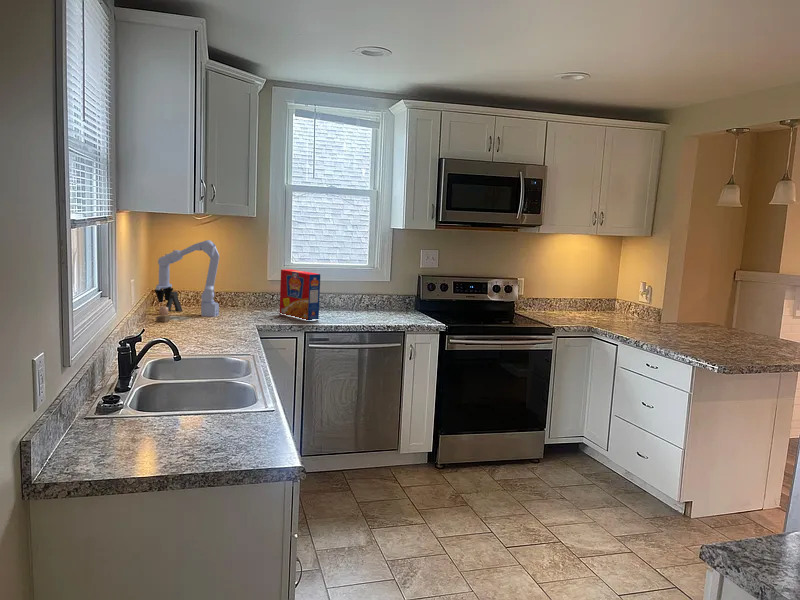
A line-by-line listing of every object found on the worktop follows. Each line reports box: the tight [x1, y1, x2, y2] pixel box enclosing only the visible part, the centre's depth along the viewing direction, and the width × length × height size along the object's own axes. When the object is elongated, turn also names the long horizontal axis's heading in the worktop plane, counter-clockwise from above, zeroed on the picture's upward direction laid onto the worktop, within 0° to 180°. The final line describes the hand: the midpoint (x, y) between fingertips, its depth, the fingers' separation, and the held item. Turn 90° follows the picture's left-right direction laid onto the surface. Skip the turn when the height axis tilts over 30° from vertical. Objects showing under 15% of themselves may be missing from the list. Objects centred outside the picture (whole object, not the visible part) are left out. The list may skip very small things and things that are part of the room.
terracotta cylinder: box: [158, 306, 169, 316], centre depth 344 cm, size 5×5×5 cm
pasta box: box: [279, 269, 321, 320], centre depth 362 cm, size 28×8×28 cm, turn 47°
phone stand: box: [165, 290, 183, 313], centre depth 358 cm, size 9×6×12 cm, turn 90°
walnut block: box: [155, 314, 171, 323], centre depth 322 cm, size 5×5×4 cm
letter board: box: [165, 314, 193, 322], centre depth 334 cm, size 16×12×1 cm
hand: (163, 301), depth 343 cm, fingers open, 7 cm apart
